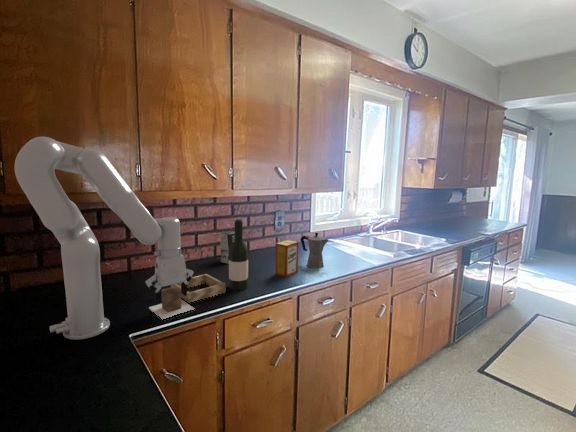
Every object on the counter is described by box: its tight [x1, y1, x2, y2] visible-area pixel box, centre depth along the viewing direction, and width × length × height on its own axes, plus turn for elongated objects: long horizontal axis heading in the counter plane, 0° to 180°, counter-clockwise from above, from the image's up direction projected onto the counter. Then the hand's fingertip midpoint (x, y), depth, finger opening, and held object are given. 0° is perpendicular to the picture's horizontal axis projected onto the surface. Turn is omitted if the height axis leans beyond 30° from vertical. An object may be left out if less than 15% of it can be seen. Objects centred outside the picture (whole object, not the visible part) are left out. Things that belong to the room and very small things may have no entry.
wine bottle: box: [228, 218, 249, 291], centre depth 137 cm, size 8×8×30 cm
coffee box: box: [220, 230, 235, 265], centre depth 174 cm, size 9×6×16 cm
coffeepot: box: [300, 232, 329, 269], centre depth 171 cm, size 15×9×18 cm, turn 67°
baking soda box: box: [274, 239, 299, 278], centre depth 157 cm, size 10×6×16 cm
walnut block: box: [160, 286, 181, 312], centre depth 116 cm, size 5×5×7 cm
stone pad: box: [148, 299, 196, 321], centre depth 117 cm, size 12×12×1 cm
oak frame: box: [170, 273, 226, 304], centre depth 133 cm, size 16×15×4 cm
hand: (171, 297), depth 116 cm, fingers open, 9 cm apart
